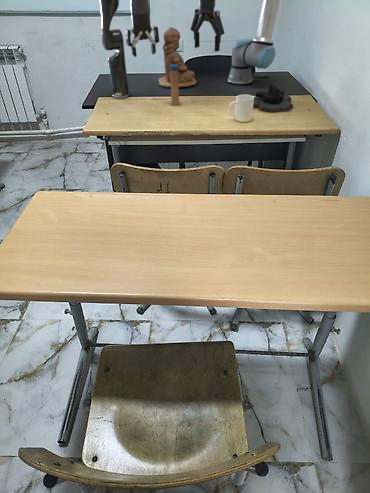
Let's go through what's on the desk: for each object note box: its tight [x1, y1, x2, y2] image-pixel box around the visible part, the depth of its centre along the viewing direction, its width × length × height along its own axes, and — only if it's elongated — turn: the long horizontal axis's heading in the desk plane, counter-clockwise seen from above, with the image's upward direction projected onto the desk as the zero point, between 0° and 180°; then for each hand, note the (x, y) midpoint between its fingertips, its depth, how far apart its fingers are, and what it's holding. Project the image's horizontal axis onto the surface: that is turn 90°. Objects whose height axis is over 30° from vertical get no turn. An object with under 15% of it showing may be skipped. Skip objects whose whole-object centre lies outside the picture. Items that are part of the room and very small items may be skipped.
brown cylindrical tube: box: [170, 70, 180, 106], centre depth 187 cm, size 4×4×19 cm
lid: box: [169, 64, 179, 70], centre depth 182 cm, size 5×5×2 cm
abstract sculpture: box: [253, 83, 294, 113], centre depth 185 cm, size 25×9×20 cm
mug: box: [227, 94, 255, 123], centre depth 170 cm, size 12×8×10 cm
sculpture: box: [157, 27, 198, 89], centre depth 214 cm, size 27×24×30 cm
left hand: (144, 55), depth 157 cm, fingers open, 8 cm apart
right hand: (206, 49), depth 177 cm, fingers open, 13 cm apart
